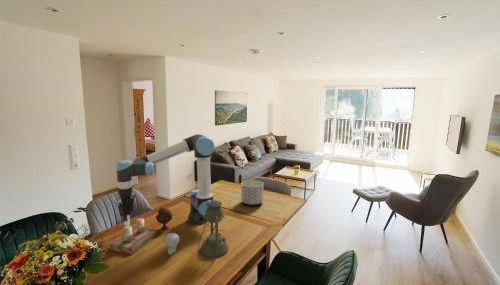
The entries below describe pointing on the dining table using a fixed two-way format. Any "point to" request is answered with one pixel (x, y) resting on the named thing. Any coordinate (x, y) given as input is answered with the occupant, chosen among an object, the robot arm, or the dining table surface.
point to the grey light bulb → (171, 242)
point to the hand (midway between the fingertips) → (127, 225)
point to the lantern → (214, 242)
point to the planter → (252, 192)
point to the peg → (128, 234)
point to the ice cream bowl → (164, 217)
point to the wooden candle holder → (134, 239)
